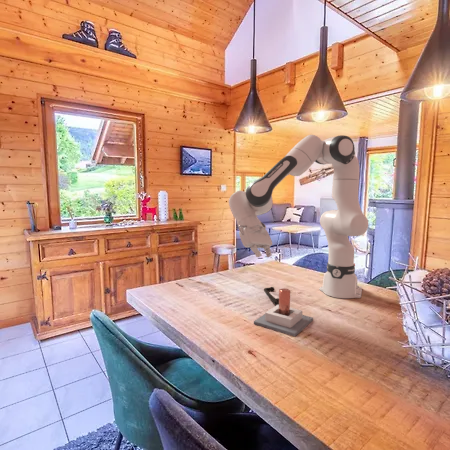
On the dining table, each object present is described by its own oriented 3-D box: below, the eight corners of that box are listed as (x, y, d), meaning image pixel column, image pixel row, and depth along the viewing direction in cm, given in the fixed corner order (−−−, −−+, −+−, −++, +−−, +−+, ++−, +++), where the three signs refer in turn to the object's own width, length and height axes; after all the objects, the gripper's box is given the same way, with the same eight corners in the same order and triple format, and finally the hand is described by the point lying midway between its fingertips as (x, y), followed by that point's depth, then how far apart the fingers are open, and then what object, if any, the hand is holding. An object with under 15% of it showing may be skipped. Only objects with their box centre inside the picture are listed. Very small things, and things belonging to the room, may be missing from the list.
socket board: (274, 310, 122) (274, 300, 122) (313, 320, 113) (313, 309, 112) (253, 323, 110) (253, 313, 109) (295, 336, 100) (295, 325, 100)
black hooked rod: (274, 294, 147) (290, 313, 117) (263, 295, 147) (277, 314, 117) (273, 283, 147) (290, 300, 117) (263, 284, 147) (277, 301, 117)
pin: (281, 316, 114) (282, 287, 113) (291, 318, 111) (292, 290, 110) (276, 319, 111) (277, 290, 109) (286, 322, 108) (287, 292, 107)
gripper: (243, 220, 115) (259, 252, 111) (266, 224, 132) (281, 252, 128) (231, 228, 118) (245, 260, 113) (255, 232, 135) (269, 259, 130)
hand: (264, 256), depth 121 cm, fingers open, 8 cm apart
